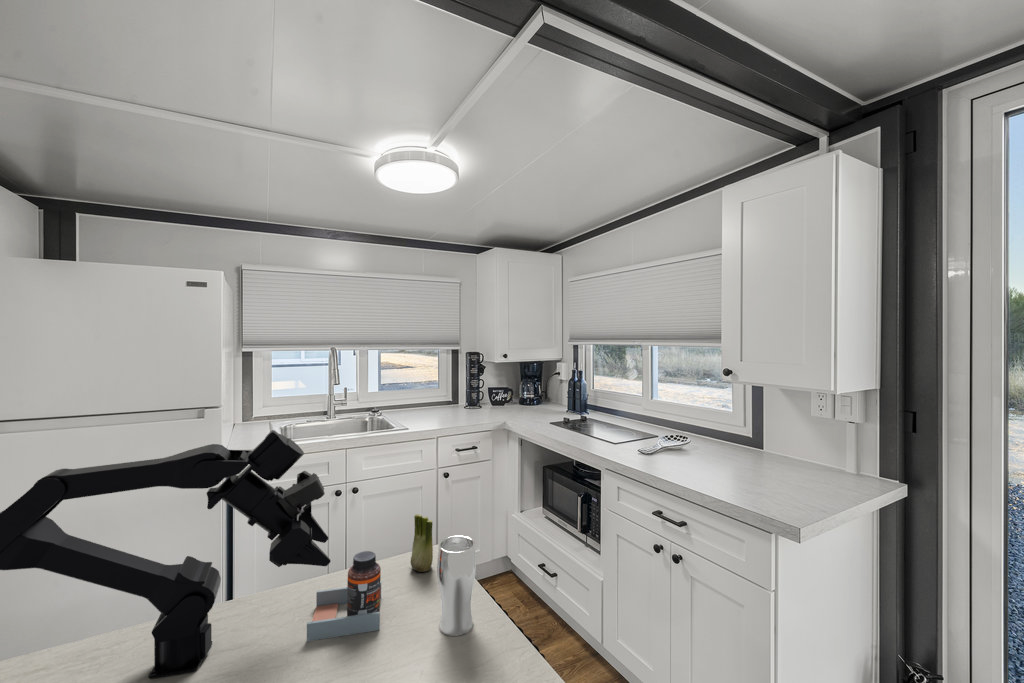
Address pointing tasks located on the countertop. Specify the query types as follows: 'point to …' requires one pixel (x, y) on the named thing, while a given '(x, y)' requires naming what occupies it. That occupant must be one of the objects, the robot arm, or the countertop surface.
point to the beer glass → (456, 583)
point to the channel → (331, 626)
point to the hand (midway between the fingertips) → (327, 551)
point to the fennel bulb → (422, 544)
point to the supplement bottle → (363, 585)
